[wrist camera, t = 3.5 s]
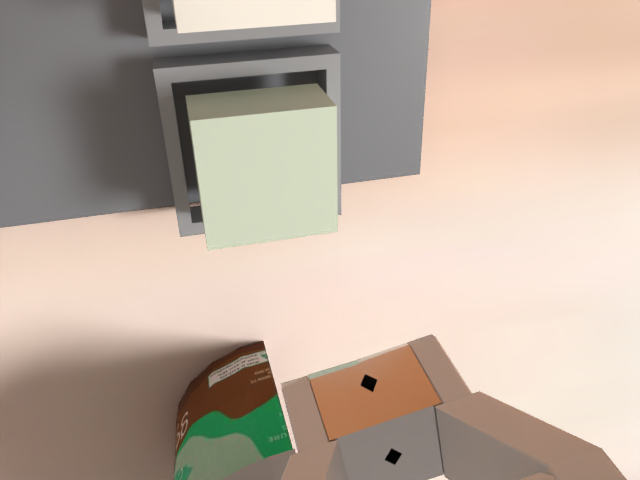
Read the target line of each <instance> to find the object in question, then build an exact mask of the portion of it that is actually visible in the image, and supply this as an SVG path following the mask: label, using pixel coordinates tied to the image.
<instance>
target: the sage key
mask: <svg viewBox="0 0 640 480" xmlns="http://www.w3.org/2000/svg"><path fill="white" fill-rule="evenodd" d="M185 97H186V104H187V112H188V119H189V126H190V133H191V140H192V148H193V155H194V162H195V169H196V176H197V184H198V191H199V198H200V205H201V212H202V219H203V225H204V231H205V237H206V243H207V249H208V250H215V249H222V248H229V247H236V246H243V245H249V244H256V243H263V242H270V241H277V240H284V239H291V238H298V237H305V236H312V235H319V234H326V233H333V232H338V189H337V106H336V105H335V103H334V102H333V101H332V100H331V99H330V98H329V97H328V95H327V94H326V93H325V92H324V91H323V90H322V88H321V87H320V86H319V85H318V84H317V83H314V84H304V85H293V86H282V87H272V88H261V89H250V90H240V91H229V92H218V93H207V94H197V95H186V96H185Z"/></svg>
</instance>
